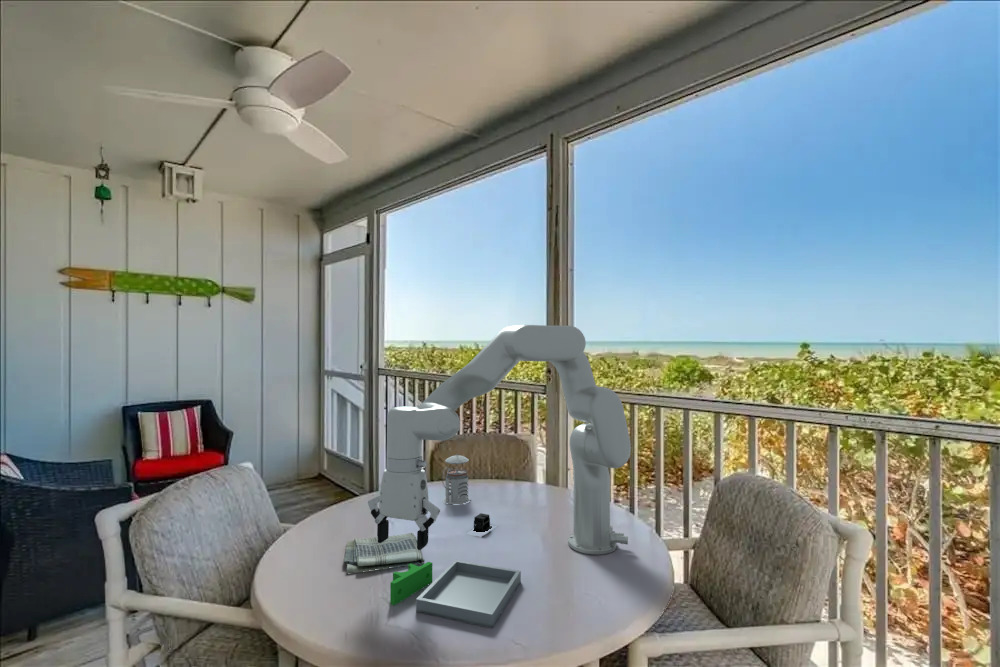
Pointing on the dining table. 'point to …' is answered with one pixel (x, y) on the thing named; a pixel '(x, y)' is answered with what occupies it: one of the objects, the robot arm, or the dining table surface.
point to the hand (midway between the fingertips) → (402, 544)
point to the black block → (482, 523)
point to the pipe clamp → (409, 582)
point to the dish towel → (382, 553)
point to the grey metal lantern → (456, 481)
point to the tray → (470, 593)
